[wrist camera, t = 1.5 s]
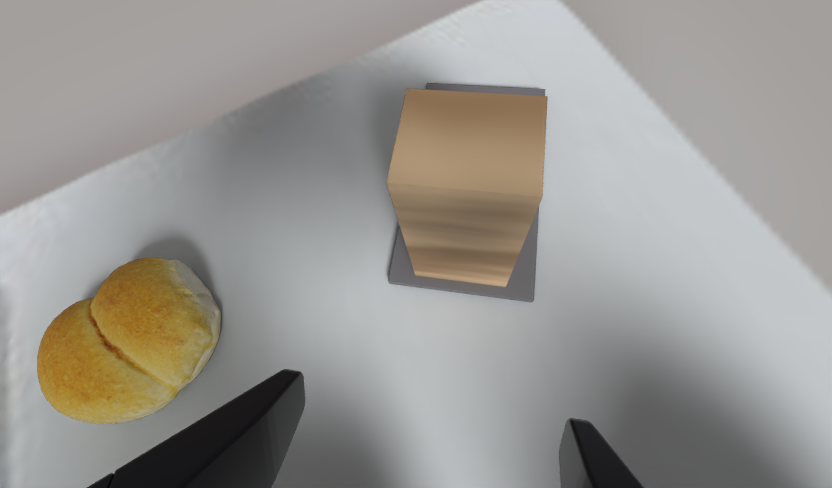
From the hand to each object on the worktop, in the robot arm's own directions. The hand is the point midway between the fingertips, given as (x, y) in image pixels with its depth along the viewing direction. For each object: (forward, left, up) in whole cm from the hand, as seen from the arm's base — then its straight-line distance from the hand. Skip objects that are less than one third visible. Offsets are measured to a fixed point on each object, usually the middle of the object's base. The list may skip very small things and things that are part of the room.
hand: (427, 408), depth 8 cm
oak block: (+9, -1, -12) cm, 15 cm away
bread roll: (+3, +17, -13) cm, 22 cm away
